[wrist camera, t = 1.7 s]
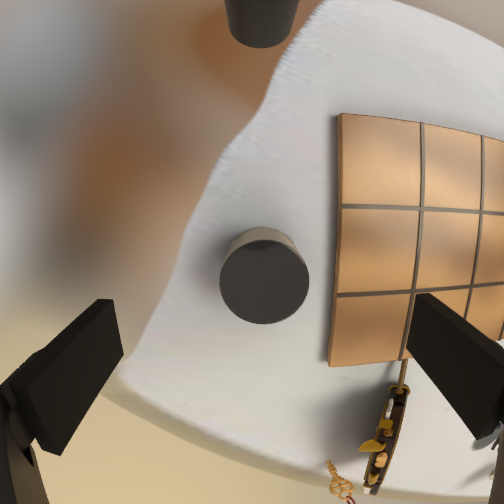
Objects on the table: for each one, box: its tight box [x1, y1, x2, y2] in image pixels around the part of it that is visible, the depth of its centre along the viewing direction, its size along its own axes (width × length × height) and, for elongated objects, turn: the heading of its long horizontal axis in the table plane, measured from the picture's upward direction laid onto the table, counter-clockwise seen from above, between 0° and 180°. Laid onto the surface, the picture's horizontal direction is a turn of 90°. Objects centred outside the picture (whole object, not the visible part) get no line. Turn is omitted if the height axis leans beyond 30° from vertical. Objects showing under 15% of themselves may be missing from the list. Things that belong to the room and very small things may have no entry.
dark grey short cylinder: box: [219, 227, 309, 324], centre depth 19 cm, size 5×5×4 cm
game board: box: [327, 113, 504, 367], centre depth 20 cm, size 18×24×1 cm
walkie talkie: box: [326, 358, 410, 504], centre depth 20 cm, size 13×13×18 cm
